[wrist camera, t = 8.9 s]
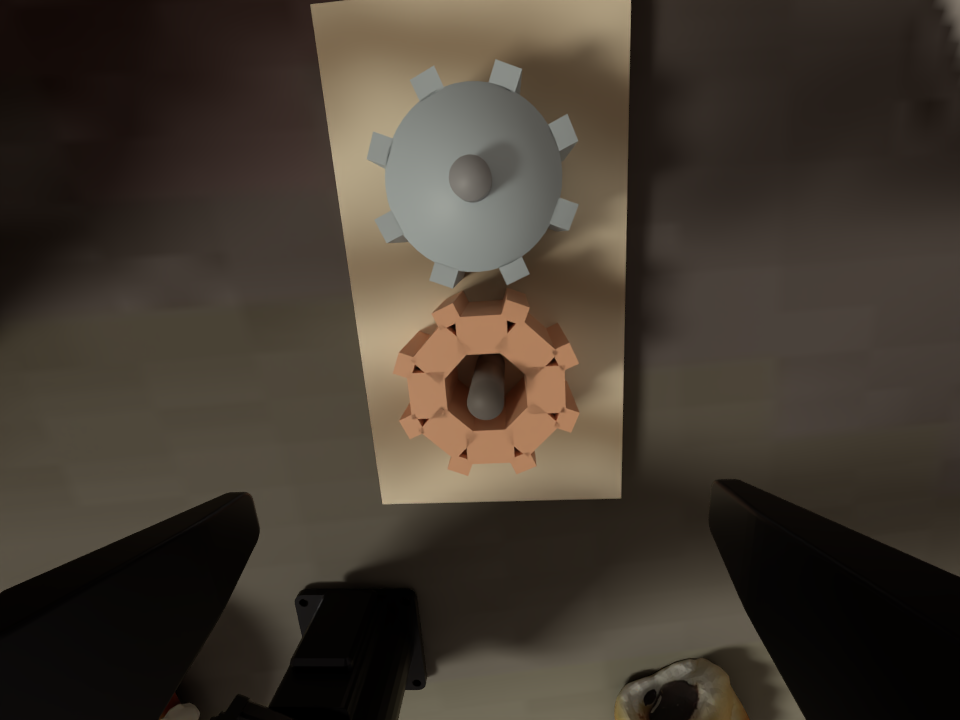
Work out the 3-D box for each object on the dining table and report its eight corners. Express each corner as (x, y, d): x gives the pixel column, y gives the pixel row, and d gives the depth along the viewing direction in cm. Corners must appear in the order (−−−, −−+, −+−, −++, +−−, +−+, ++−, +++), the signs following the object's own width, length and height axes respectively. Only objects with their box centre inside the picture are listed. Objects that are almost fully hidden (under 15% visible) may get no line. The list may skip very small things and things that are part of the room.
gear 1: (565, 272, 17) (584, 284, 13) (406, 281, 18) (374, 296, 14) (562, 90, 16) (583, 35, 11) (387, 107, 16) (343, 60, 12)
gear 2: (567, 430, 19) (580, 472, 16) (423, 436, 20) (406, 478, 16) (564, 283, 17) (578, 295, 14) (407, 294, 18) (384, 307, 15)
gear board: (614, 484, 21) (652, 570, 16) (389, 489, 22) (349, 574, 16) (622, -13, 16) (683, -146, 10) (324, 20, 17) (233, -86, 11)
